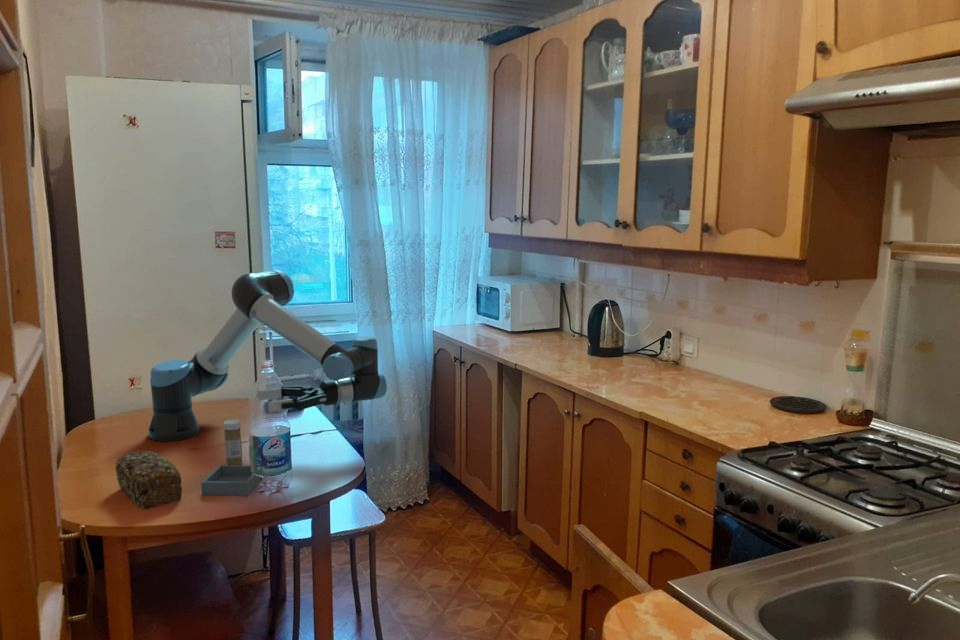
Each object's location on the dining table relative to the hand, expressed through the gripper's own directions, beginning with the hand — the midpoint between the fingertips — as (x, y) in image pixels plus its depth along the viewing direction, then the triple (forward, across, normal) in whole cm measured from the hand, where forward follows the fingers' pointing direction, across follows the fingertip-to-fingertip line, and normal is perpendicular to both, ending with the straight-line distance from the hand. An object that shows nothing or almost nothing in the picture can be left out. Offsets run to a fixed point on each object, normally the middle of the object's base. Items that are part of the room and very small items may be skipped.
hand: (263, 401), depth 201 cm
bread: (+31, -10, -18) cm, 38 cm away
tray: (+12, -14, -18) cm, 26 cm away
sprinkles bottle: (+9, 0, -18) cm, 20 cm away
